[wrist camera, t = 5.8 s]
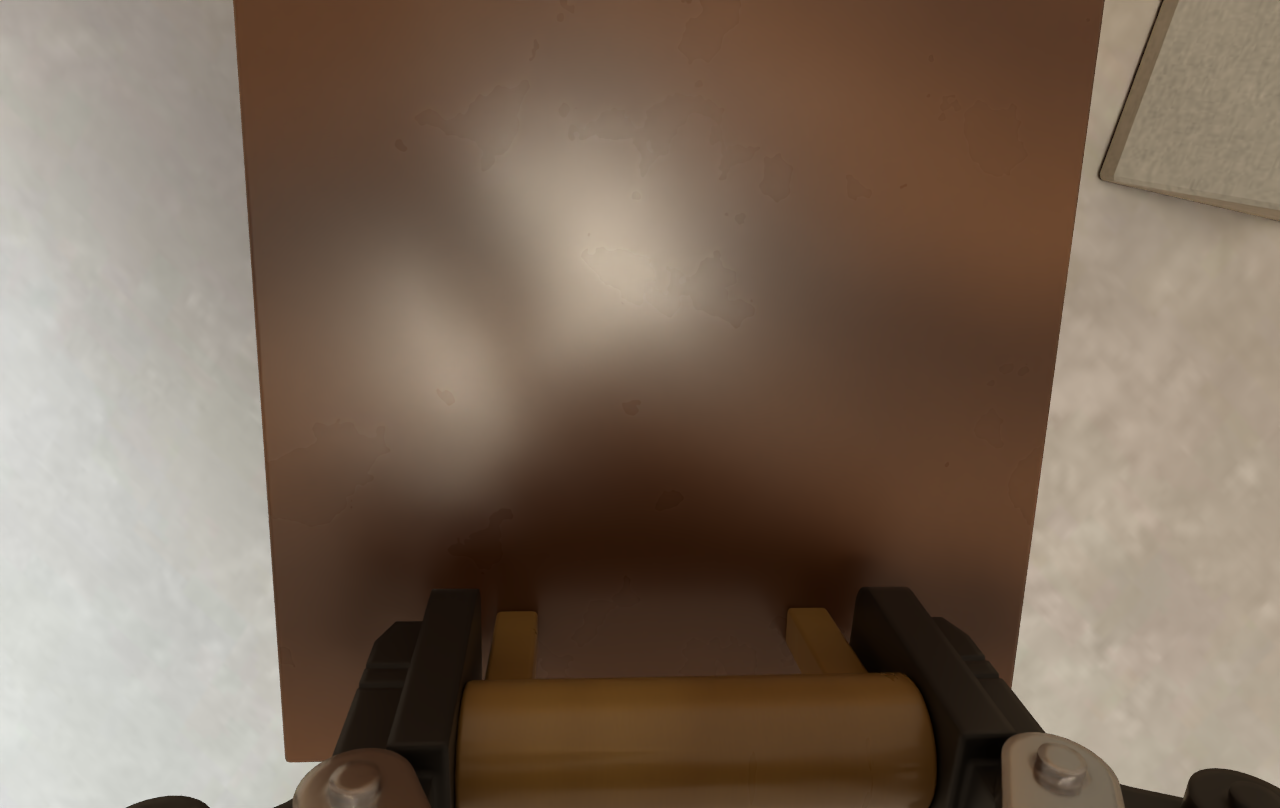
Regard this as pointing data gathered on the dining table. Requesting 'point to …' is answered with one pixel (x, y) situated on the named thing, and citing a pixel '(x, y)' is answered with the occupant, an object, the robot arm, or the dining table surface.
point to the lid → (657, 366)
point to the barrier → (1206, 108)
